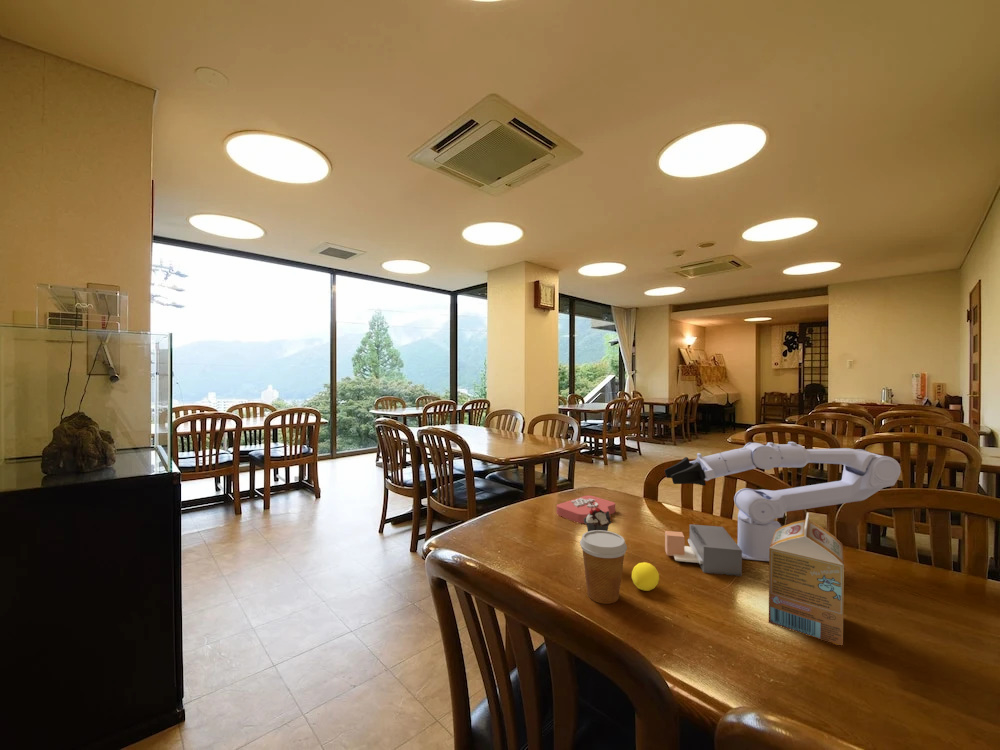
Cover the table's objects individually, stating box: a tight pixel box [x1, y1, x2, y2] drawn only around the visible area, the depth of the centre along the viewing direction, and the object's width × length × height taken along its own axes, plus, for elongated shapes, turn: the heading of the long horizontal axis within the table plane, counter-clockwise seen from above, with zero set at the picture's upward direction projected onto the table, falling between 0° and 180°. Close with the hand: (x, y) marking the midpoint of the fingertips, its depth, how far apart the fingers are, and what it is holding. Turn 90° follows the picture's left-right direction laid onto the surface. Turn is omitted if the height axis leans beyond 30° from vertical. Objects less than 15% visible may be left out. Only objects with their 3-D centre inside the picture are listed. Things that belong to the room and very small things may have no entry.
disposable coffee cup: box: [579, 530, 628, 605], centre depth 84 cm, size 10×10×12 cm
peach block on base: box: [664, 530, 699, 564], centre depth 101 cm, size 14×8×5 cm, turn 77°
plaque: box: [556, 495, 616, 525], centre depth 132 cm, size 18×4×15 cm
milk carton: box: [768, 512, 845, 646], centre depth 76 cm, size 11×11×19 cm
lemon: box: [631, 561, 660, 592], centre depth 87 cm, size 7×5×5 cm
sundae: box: [584, 502, 612, 532], centre depth 99 cm, size 7×7×15 cm
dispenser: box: [687, 523, 743, 577], centre depth 100 cm, size 9×14×6 cm, turn 167°
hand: (668, 476), depth 106 cm, fingers open, 7 cm apart
